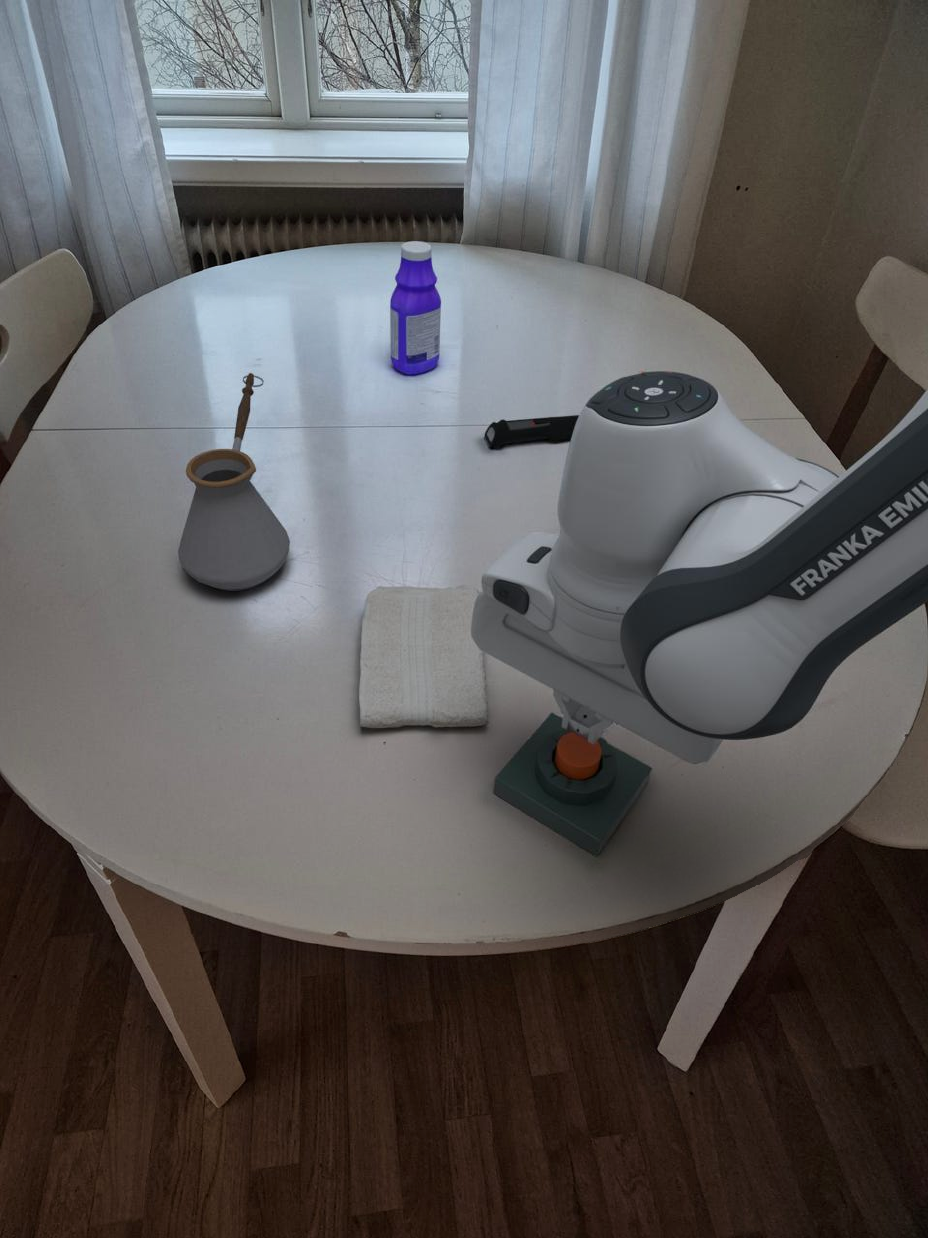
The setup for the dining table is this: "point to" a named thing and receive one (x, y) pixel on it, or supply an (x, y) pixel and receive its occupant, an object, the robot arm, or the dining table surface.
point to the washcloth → (421, 659)
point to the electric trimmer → (530, 430)
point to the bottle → (415, 311)
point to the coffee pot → (231, 517)
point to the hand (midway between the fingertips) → (582, 731)
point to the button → (577, 757)
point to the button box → (572, 788)
